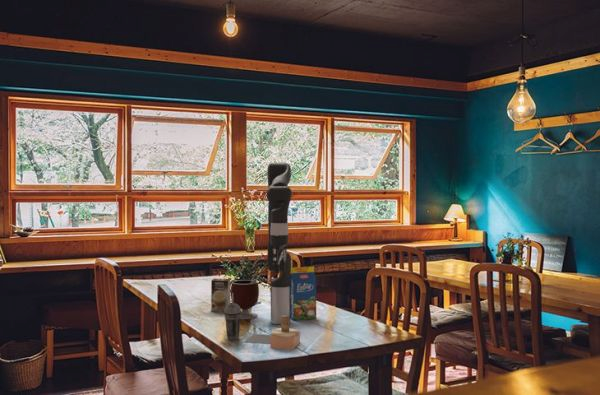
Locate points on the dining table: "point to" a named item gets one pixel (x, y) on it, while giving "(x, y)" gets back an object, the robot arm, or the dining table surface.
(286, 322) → the lid
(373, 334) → the dining table surface
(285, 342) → the open wooden box
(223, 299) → the coffee box
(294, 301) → the blue food package
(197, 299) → the dining table surface
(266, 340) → the mat
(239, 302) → the mate gourd
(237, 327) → the beverage cup
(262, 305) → the dining table surface
